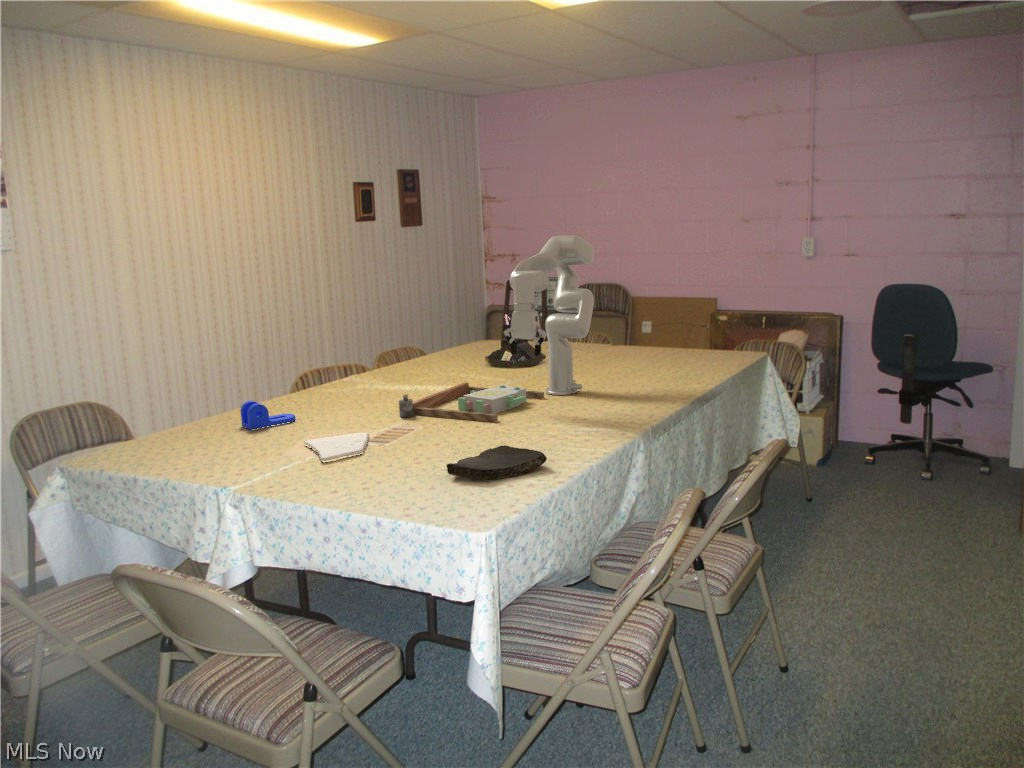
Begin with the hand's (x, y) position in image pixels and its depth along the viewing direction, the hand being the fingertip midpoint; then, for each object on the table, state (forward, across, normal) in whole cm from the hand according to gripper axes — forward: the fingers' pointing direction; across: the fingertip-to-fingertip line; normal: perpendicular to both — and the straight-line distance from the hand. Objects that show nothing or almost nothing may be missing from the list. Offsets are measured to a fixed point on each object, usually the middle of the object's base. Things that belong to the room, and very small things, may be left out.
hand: (525, 354), depth 298 cm
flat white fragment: (+22, +30, +67) cm, 76 cm away
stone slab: (+22, -26, +68) cm, 76 cm away
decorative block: (+21, +15, 0) cm, 26 cm away
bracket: (+21, +77, +51) cm, 95 cm away
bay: (+21, +21, +3) cm, 30 cm away
